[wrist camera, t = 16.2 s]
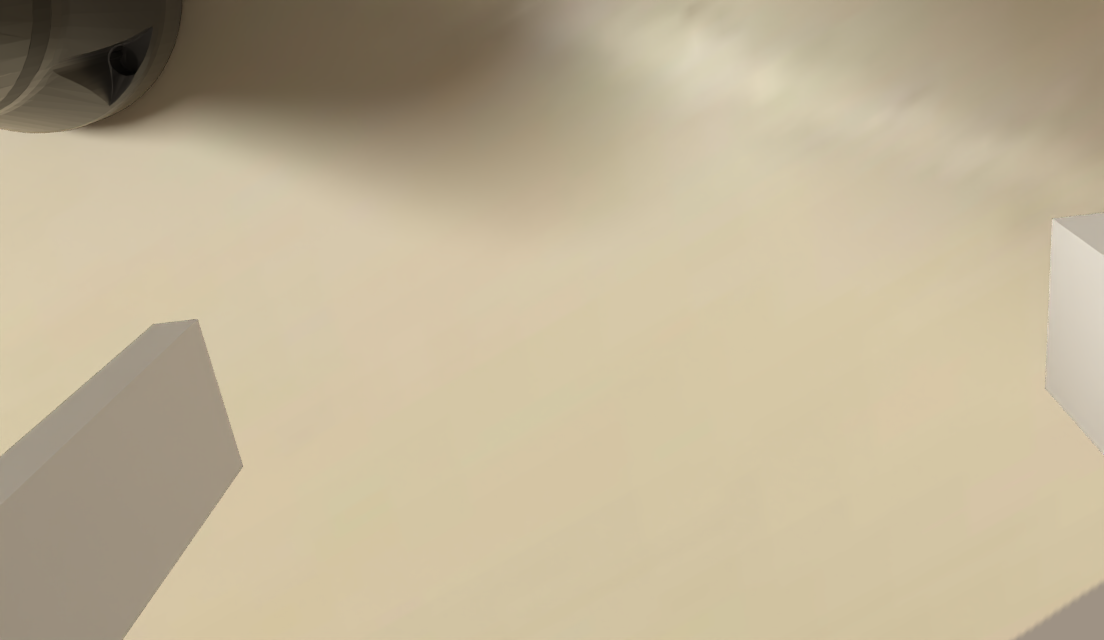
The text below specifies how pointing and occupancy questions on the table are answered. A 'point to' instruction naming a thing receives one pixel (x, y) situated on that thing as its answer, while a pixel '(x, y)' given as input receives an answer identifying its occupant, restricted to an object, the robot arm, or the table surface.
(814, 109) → the table surface
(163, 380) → the robot arm
